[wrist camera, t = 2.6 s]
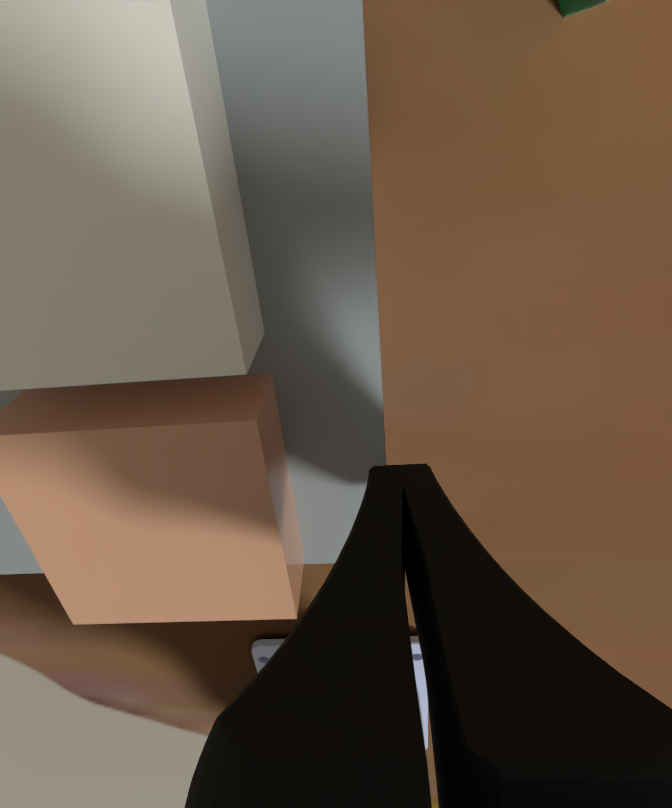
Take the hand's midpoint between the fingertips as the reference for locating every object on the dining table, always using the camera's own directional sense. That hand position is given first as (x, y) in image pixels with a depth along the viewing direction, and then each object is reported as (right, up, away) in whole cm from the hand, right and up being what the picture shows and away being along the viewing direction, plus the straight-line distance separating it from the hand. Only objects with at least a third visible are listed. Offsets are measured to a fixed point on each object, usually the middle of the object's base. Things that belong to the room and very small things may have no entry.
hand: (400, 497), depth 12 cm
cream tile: (-6, +6, -2) cm, 9 cm away
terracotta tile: (-6, 0, +1) cm, 6 cm away
